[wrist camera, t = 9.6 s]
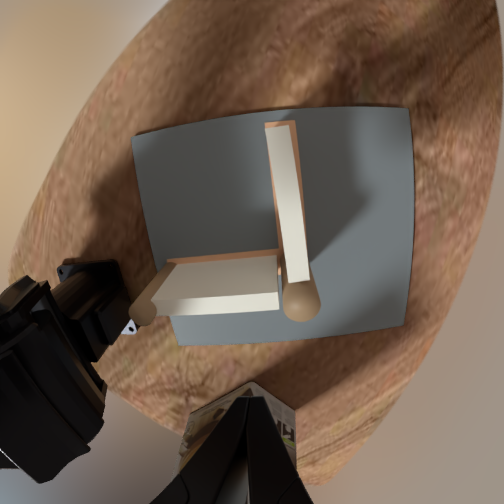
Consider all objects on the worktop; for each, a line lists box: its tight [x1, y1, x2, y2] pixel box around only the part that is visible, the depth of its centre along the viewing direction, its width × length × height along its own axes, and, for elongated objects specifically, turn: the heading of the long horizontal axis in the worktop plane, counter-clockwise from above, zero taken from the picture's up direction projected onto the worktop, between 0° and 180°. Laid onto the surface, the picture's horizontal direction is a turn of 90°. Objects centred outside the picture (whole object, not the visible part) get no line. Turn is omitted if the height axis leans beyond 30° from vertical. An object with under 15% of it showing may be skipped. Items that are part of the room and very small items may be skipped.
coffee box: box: [171, 382, 297, 504], centre depth 18 cm, size 9×6×16 cm
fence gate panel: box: [265, 125, 310, 283], centre depth 15 cm, size 7×1×5 cm, turn 10°
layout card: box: [131, 107, 414, 345], centre depth 19 cm, size 18×16×1 cm
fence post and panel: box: [129, 252, 321, 326], centre depth 17 cm, size 10×2×6 cm, turn 97°
